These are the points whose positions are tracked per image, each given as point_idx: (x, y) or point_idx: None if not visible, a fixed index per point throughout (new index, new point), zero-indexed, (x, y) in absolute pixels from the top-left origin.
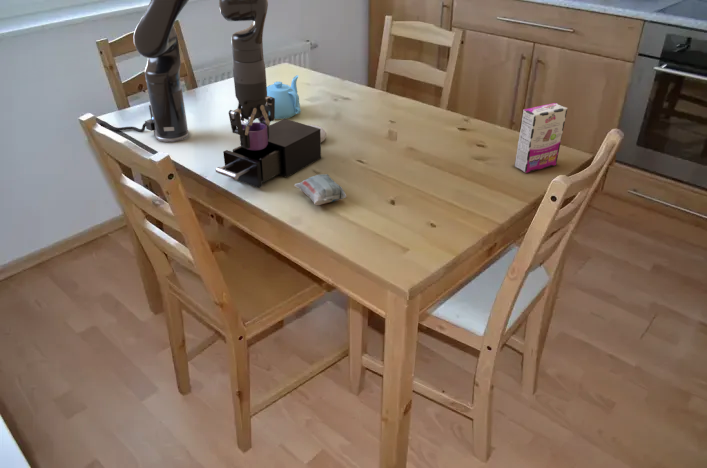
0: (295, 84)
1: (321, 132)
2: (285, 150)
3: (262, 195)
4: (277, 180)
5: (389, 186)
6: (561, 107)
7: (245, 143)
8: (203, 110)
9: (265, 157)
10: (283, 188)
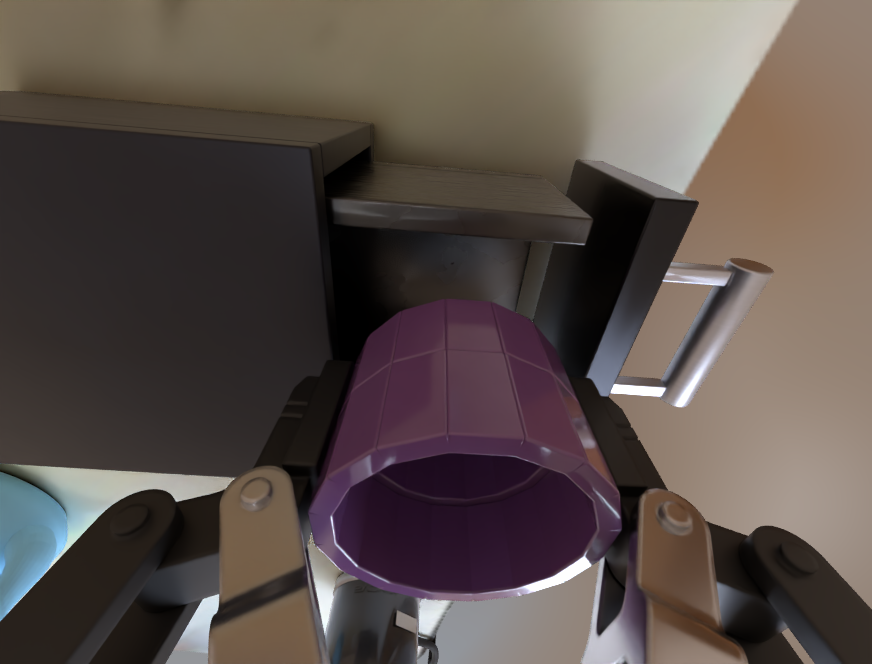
0: None
1: None
2: (317, 141)
3: (635, 105)
4: (432, 150)
5: None
6: None
7: (618, 424)
8: (214, 606)
9: (541, 217)
10: (503, 36)
